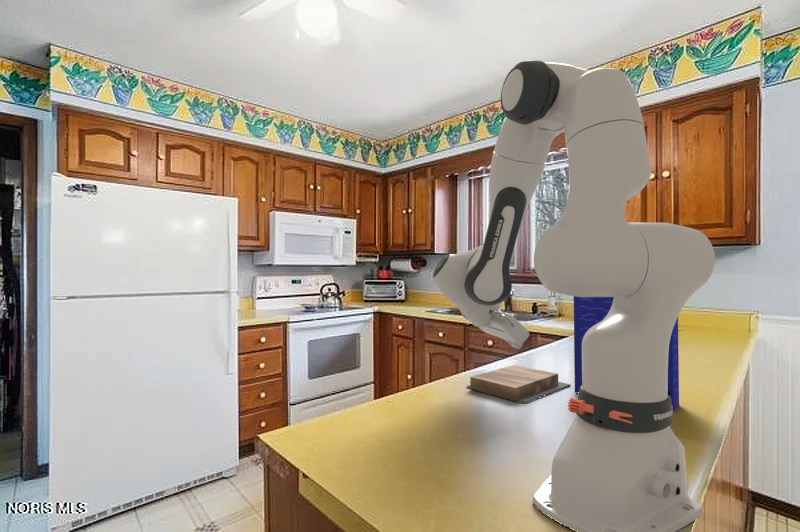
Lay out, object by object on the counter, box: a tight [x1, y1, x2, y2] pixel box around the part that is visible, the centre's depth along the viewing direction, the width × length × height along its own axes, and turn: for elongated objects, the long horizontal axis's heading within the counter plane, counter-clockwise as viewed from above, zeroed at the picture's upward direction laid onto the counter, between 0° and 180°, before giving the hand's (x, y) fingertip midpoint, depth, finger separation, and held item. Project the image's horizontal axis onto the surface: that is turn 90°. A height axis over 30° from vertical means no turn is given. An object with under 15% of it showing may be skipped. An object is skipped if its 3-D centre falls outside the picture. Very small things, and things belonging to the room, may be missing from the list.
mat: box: [466, 381, 571, 404], centre depth 113 cm, size 22×18×1 cm
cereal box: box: [573, 296, 680, 413], centre depth 103 cm, size 22×6×30 cm, turn 46°
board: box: [469, 364, 559, 401], centre depth 112 cm, size 3×14×20 cm
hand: (518, 346), depth 106 cm, fingers closed
